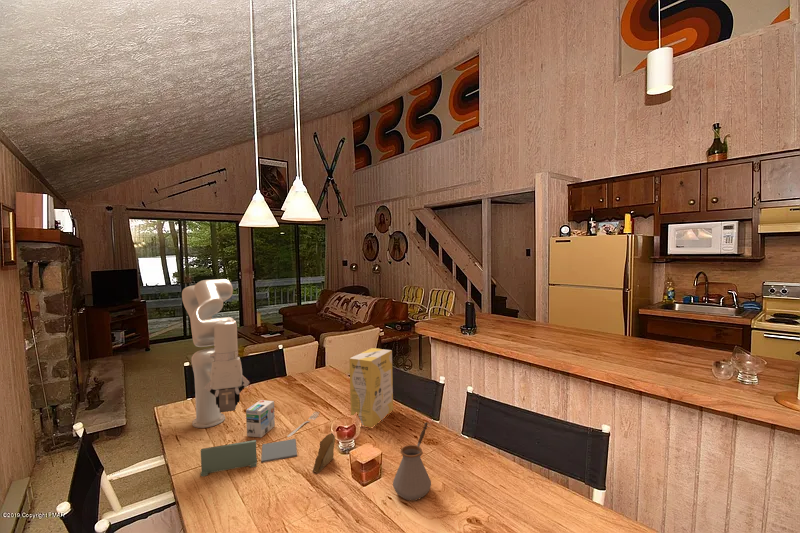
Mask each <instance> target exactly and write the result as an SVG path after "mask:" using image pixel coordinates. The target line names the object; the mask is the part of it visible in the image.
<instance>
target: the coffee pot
mask: <svg viewBox="0 0 800 533" xmlns="http://www.w3.org/2000/svg"><path fill="white" fill-rule="evenodd" d="M428 425H429V426H428ZM430 427H431V424H430V423H429V422H427V421H426V422H424V423H423V427H422V430H421V432H420V433H419V439H418V440H417V445H415V444H409V445H408V444H407V445H404V446H403V447H401V448H400V453H401V455H402V459H401V461H400V463H399V466H398V468H397V470H396V473H395V476H394V478H393V481H392V486H393V489H394V491H395V493H396V494H397V495H398V496H399V497H401V498H402V497H403V498H402V499H404V500H406V501H410V500H415V501H417V500H416V499H419V498H421V497H422V498H423V497H425V496H426V495H427V494H428V493H429V492H430V490H431V486H432V480H431V478H430V476H429V474H428V471H427V469H426V466H425V465H424V463H423V461H422V456H423V454H424V453H423V449H422V447H420V446H421V443H422V441H423V439H424V438H425V437H424V436H425V435H426V431H427V428H430ZM422 498H421V499H422ZM419 500H420V499H419Z"/></svg>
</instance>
